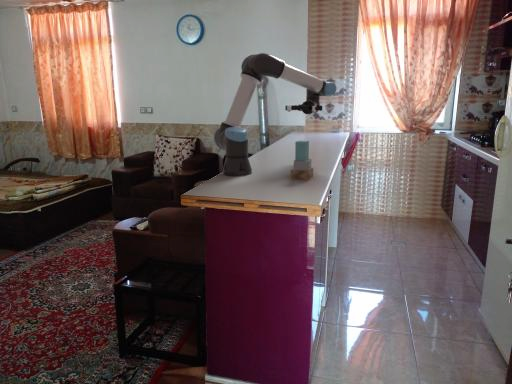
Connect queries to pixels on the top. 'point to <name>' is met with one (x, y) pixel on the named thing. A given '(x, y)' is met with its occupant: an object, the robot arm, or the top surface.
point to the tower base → (302, 174)
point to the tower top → (302, 165)
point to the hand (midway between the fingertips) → (300, 108)
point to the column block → (301, 150)
